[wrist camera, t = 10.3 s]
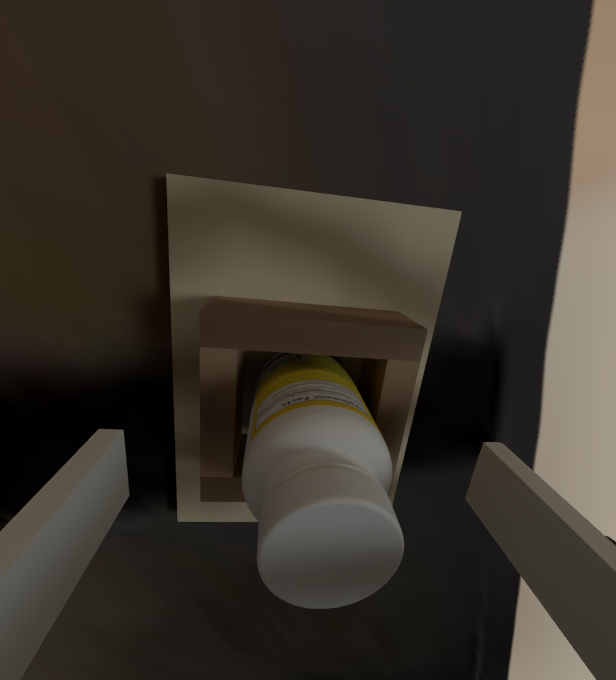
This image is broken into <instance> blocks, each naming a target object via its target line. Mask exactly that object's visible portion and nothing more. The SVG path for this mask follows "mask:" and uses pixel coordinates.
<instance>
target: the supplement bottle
mask: <svg viewBox="0 0 616 680" xmlns="http://www.w3.org/2000/svg"><path fill="white" fill-rule="evenodd" d="M391 481H392V462H391V457H390V454H389V451H388V448H387V446H386V443H385V441H384V439H383V437H382V435H381V433H380V431H379V429H378V427H377V425H376V423H375V422H374V420H373V418H372V416H371V414H370V412H369V410H368V409H367V407H366V405H365V403H364V401H363V399H362V397H361V395H360V394H359V392H358V390H357V388H356V386H355V384H354V382H353V381H352V379H351V377H350V375H349V373H348V372H347V370H346V368H345V367H344V365H343V364H342V363H341V362H340V361H339V360H338V359H337V358H336V357H335V356H327V355H312V354H297V353H282V352H280V353H278V354H277V355H275V356H274V357H272V358H271V359H270V360H269V361H268V362H267V363H266V364H265V365H264V367H263V368H262V370H261V371H260V373H259V376H258V378H257V381H256V385H255V390H254V396H253V402H252V409H251V416H250V422H249V429H248V435H247V442H246V448H245V455H244V461H243V469H242V489H243V494H244V498H245V501H246V503H247V506H248V508H249V509H250V511H251V513H252V514H253V516H254V517H255V518H256V519H257V520H258V522H259V524H258V545H257V565H258V570H259V573H260V576H261V578H262V580H263V582H264V584H265V585H266V586H267V588H268V589H269V590H270V591H271V592H272V593H273V594H275V595H276V596H277V597H279V598H280V599H282V600H284V601H286V602H288V603H290V604H293V605H296V606H300V607H304V608H311V609H313V608H318V609H325V608H336V607H340V606H345V605H349V604H352V603H355V602H357V601H359V600H362V599H364V598H366V597H368V596H370V595H371V594H373V593H374V592H376V591H377V590H378V589H380V588H381V587H382V586H384V585H385V584H386V583H387V582H388V581H389V580H390V578H391V577H392V576H393V574H394V573H395V572H396V570H397V568H398V567H399V565H400V562H401V559H402V556H403V551H404V540H403V535H402V530H401V528H400V525H399V523H398V520H397V518H396V515H395V513H394V510H393V508H392V505H391V502H390V499H389V497H388V493H389V490H390V486H391Z"/></svg>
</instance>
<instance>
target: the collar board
mask: <svg viewBox="0 0 616 680" xmlns="http://www.w3.org/2000/svg"><path fill="white" fill-rule="evenodd" d="M166 179H167V209H168V240H169V270H170V301H171V331H172V362H173V393H174V423H175V454H176V484H177V515H178V522H258V520H257V519H256V518H255V517H254V516H253V514H252V513H251V511H250V509H249V508H248V506H247V503H246V501H245V498H244V494H243V489H242V469H243V461H244V455H245V448H246V442H247V435H248V429H249V422H250V416H251V409H252V402H253V396H254V390H255V385H256V381H257V378H258V376H259V373H260V371H261V370H262V368H263V367H264V365H265V364H266V363H267V362H268V361H269V360H270V359H271V358H272V357H274V356H275V355H277V354H278V353H280V352H282V353H297V354H312V355H327V356H335V357H336V358H337V359H338V360H339V361H340V362H341V363H342V364H343V365H344V367H345V368H346V370H347V372H348V373H349V375H350V377H351V379H352V381H353V382H354V384H355V386H356V388H357V390H358V392H359V394H360V395H361V397H362V399H363V401H364V403H365V405H366V407H367V409H368V410H369V412H370V414H371V416H372V418H373V420H374V422H375V423H376V425H377V427H378V429H379V431H380V433H381V435H382V437H383V439H384V441H385V443H386V446H387V448H388V451H389V454H390V457H391V462H392V481H391V486H390V490H389V493H388V497H389V499H390V502H391V505H392V504H393V499H394V495H395V491H396V487H397V482H398V478H399V474H400V470H401V466H402V461H403V457H404V453H405V449H406V445H407V440H408V436H409V432H410V428H411V423H412V419H413V415H414V411H415V407H416V402H417V398H418V394H419V390H420V386H421V381H422V377H423V373H424V369H425V365H426V360H427V356H428V352H429V348H430V343H431V339H432V335H433V331H434V327H435V322H436V318H437V314H438V310H439V306H440V301H441V297H442V293H443V289H444V284H445V280H446V276H447V272H448V268H449V263H450V259H451V255H452V251H453V247H454V242H455V238H456V234H457V230H458V226H459V221H460V217H461V213H462V212H461V211H454V210H446V209H438V208H430V207H423V206H415V205H407V204H399V203H392V202H384V201H376V200H368V199H361V198H353V197H345V196H337V195H330V194H322V193H314V192H306V191H299V190H291V189H283V188H275V187H268V186H260V185H252V184H244V183H237V182H229V181H221V180H213V179H206V178H198V177H190V176H182V175H175V174H167V173H166Z"/></svg>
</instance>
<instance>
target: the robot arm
mask: <svg viewBox="0 0 616 680" xmlns="http://www.w3.org/2000/svg"><path fill="white" fill-rule="evenodd" d="M128 497H129V487H128V475H127V464H126V453H125V442H124V431H123V430H114V429H99V430H98V431H97V432H96V433H95V434H94V435H93V436H92V437H91V438H90V439H89V440H88V441H87V442H86V443H85V444H84V445H83V446H82V447H81V448H80V449H79V450H78V451H77V452H76V453H75V455H74V456H73V457H72V458H71V459H70V460H69V461H68V462H67V463H66V464H65V465H64V466H63V467H62V468H61V469H60V470H59V471H58V472H57V473H56V474H55V475H54V476H53V477H52V478H51V480H50V481H49V482H48V483H47V484H46V485H45V486H44V487H43V488H42V489H41V490H40V491H39V492H38V493H37V494H36V495H35V496H34V497H33V498H32V499H31V500H30V501H29V502H28V503H27V504H26V506H25V507H24V508H23V509H22V510H21V511H20V512H19V513H18V514H17V515H16V516H15V517H14V518H13V519H12V520H11V521H10V522H9V523H8V524H7V525H6V526H5V527H4V528H3V529H2V530H1V532H0V680H20V679H21V678H22V676H23V674H24V673H25V671H26V669H27V668H28V666H29V664H30V662H31V661H32V659H33V657H34V656H35V654H36V652H37V651H38V649H39V647H40V646H41V644H42V642H43V640H44V639H45V637H46V635H47V634H48V632H49V630H50V629H51V627H52V625H53V624H54V622H55V620H56V618H57V617H58V615H59V613H60V612H61V610H62V608H63V607H64V605H65V603H66V602H67V600H68V598H69V596H70V595H71V593H72V591H73V590H74V588H75V586H76V585H77V583H78V581H79V579H80V578H81V576H82V574H83V573H84V571H85V569H86V568H87V566H88V564H89V563H90V561H91V559H92V557H93V556H94V554H95V552H96V551H97V549H98V547H99V546H100V544H101V542H102V541H103V539H104V537H105V535H106V534H107V532H108V530H109V529H110V527H111V525H112V524H113V522H114V520H115V519H116V517H117V515H118V513H119V512H120V510H121V508H122V507H123V505H124V503H125V502H126V500H127V498H128ZM465 499H466V500H467V502H468V503H469V505H470V506H471V507H472V509H473V510H474V512H475V513H476V514H477V516H478V517H479V518H480V520H481V521H482V523H483V524H484V525H485V527H486V528H487V529H488V531H489V532H490V534H491V535H492V536H493V538H494V539H495V541H496V542H497V543H498V545H499V546H500V547H501V549H502V550H503V552H504V553H505V554H506V556H507V557H508V558H509V560H510V561H511V563H512V564H513V565H514V567H515V568H516V569H517V571H518V572H519V574H520V575H521V576H522V578H523V579H524V581H525V582H526V583H527V585H528V586H529V587H530V589H531V590H532V592H533V593H534V594H535V596H536V597H537V598H538V599H539V601H540V602H541V604H542V605H543V607H544V608H545V609H546V611H547V612H548V613H549V615H550V616H551V618H552V619H553V621H554V622H555V623H556V625H557V626H558V627H559V629H560V630H561V632H562V633H563V634H564V636H565V637H566V638H567V640H568V641H569V643H570V644H571V645H572V647H573V648H574V650H575V651H576V652H577V653H578V655H579V656H580V658H581V659H582V661H583V662H584V663H585V665H586V666H587V667H588V669H589V670H590V672H591V673H592V674H593V676H594V677H595V678H596V680H616V542H615V541H614V540H612V539H611V538H609V537H608V536H604V535H603V534H602V533H601V532H600V531H599V530H598V529H597V528H595V527H594V526H593V525H592V524H591V523H590V522H589V521H588V520H587V519H586V518H584V517H583V516H582V515H581V514H580V513H579V512H578V511H577V510H576V509H574V508H573V507H572V506H571V505H570V504H569V503H568V502H567V501H566V500H564V499H563V498H562V497H561V496H560V495H559V494H558V493H557V492H556V491H555V490H553V489H552V488H551V487H550V486H549V485H548V484H547V483H546V482H544V481H543V480H542V479H541V478H540V477H539V476H538V475H537V474H536V473H535V472H533V471H532V470H531V469H530V468H529V467H528V466H527V465H526V464H525V463H524V462H522V461H521V460H520V459H519V458H518V457H517V456H516V455H515V454H514V453H512V452H511V451H510V450H509V449H508V448H507V447H506V446H505V445H504V444H502V443H495V442H483V445H482V448H481V451H480V454H479V457H478V461H477V464H476V467H475V470H474V473H473V476H472V479H471V482H470V485H469V488H468V492H467V495H466V498H465Z"/></svg>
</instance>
